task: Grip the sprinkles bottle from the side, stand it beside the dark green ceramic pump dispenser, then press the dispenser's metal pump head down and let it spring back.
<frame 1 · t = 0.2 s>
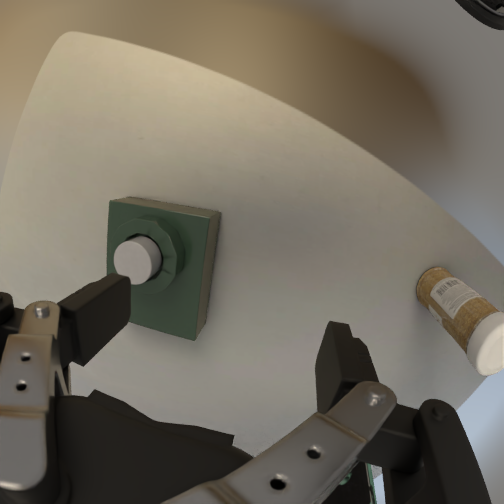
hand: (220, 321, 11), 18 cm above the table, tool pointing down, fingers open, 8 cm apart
dispenser: (166, 260, 30), on the table
pump: (137, 260, 23), point 7 cm above the table, slide at 0.1 cm
sprinkles bottle: (433, 285, 27), on the table
spray can: (338, 414, 33), on the table
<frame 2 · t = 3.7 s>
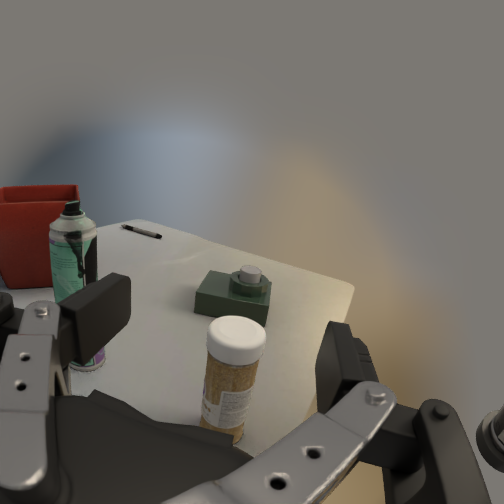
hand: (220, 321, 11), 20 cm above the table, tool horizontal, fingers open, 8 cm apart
dispenser: (233, 306, 53), on the table
pump: (250, 274, 51), point 7 cm above the table, slide at 0.1 cm
pen: (140, 233, 86), on the table
flower pot: (38, 275, 49), on the table
sprinkles bottle: (220, 432, 27), on the table
spray can: (86, 358, 32), on the table
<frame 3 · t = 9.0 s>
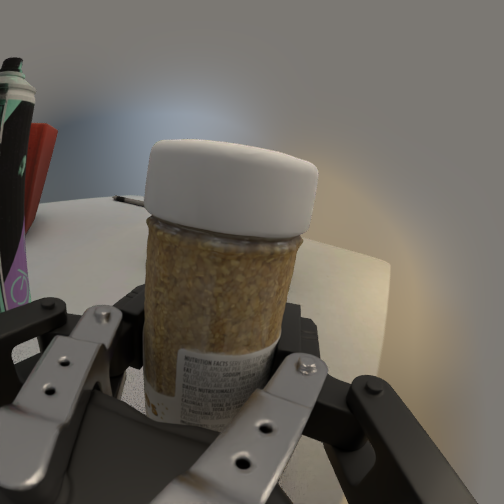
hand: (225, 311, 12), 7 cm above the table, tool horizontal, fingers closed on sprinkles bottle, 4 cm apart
pen: (132, 204, 72), on the table
sprinkles bottle: (197, 463, 11), on the table, touching gripper
spray can: (5, 314, 18), on the table
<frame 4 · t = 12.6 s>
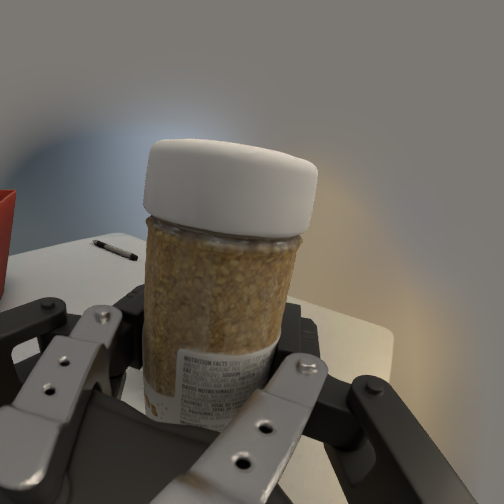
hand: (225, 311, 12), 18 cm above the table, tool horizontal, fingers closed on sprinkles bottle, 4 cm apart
pen: (113, 252, 65), on the table
sprinkles bottle: (197, 463, 11), point 10 cm above the table, touching gripper
when the fingers open (7 cm above the table, at t = 16.4 s): sprinkles bottle stays where it is, on the table.
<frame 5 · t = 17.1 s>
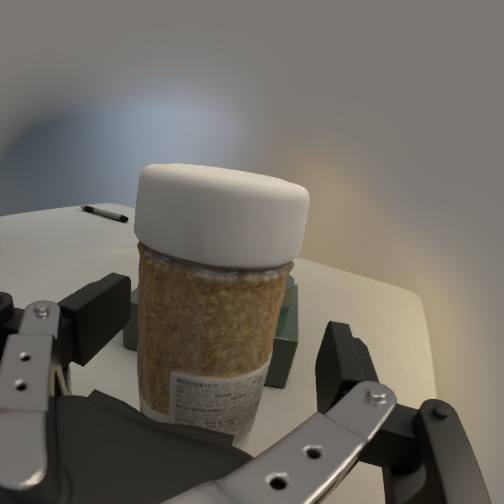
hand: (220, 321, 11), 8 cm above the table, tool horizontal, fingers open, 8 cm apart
dispenser: (216, 335, 24), on the table
pen: (102, 216, 58), on the table
sprinkles bottle: (193, 471, 11), on the table
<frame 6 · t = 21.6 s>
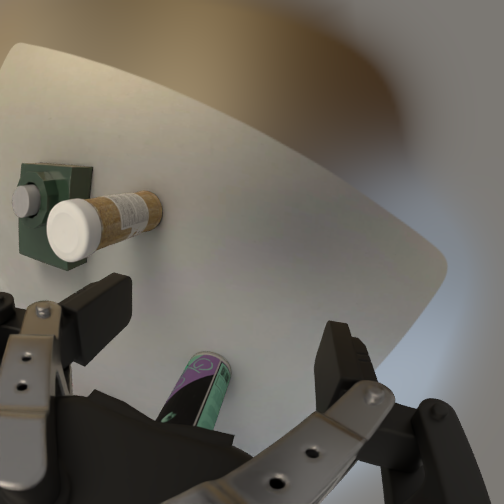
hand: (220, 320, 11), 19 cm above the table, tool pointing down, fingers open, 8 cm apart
dispenser: (61, 210, 33), on the table
pump: (26, 200, 26), point 7 cm above the table, slide at 0.1 cm
sprinkles bottle: (146, 210, 31), on the table
spray can: (210, 368, 35), on the table
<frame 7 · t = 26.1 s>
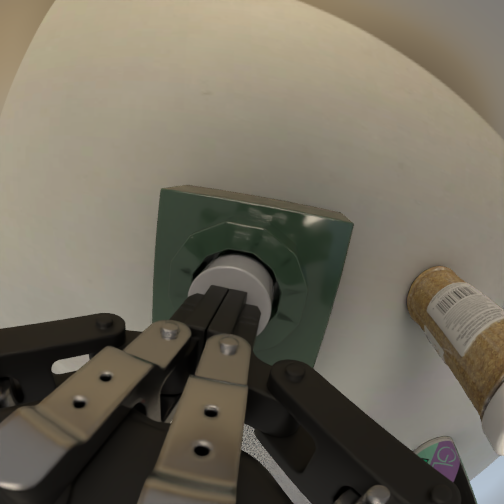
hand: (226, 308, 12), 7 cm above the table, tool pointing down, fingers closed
dispenser: (247, 286, 20), on the table
pump: (232, 297, 13), point 6 cm above the table, slide at -0.1 cm, touching gripper
sprinkles bottle: (432, 293, 18), on the table
spray can: (430, 450, 22), on the table
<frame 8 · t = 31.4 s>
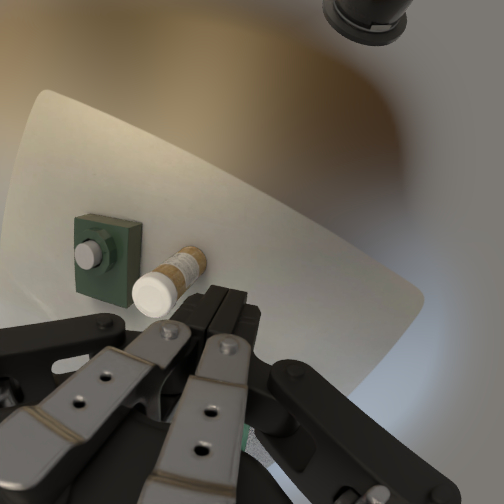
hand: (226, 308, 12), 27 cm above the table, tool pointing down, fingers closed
dispenser: (113, 255, 43), on the table
pump: (88, 254, 36), point 7 cm above the table, slide at 0.1 cm
sprinkles bottle: (192, 260, 41), on the table
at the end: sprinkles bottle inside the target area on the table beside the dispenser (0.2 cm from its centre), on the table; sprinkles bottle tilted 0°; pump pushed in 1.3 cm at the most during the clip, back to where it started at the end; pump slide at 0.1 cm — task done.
